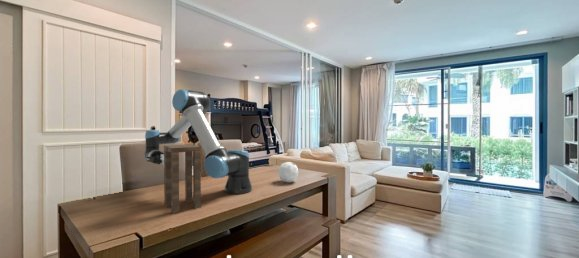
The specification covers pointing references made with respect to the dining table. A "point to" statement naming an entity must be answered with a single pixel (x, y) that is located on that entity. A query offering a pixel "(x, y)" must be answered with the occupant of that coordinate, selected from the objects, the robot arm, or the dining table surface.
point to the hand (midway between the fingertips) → (168, 161)
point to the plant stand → (173, 175)
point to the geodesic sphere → (288, 172)
